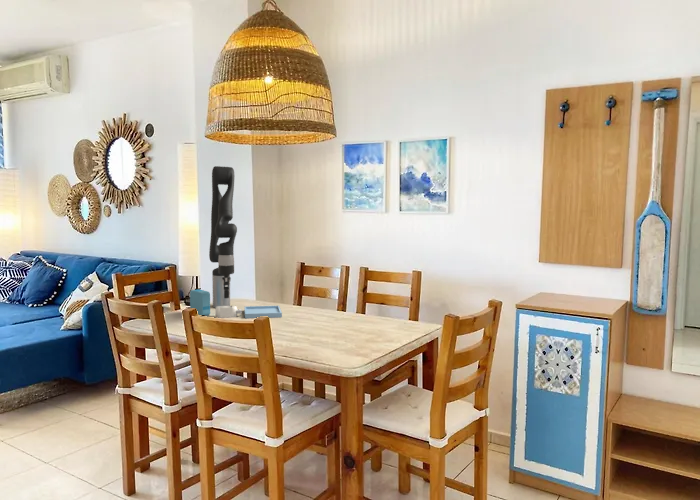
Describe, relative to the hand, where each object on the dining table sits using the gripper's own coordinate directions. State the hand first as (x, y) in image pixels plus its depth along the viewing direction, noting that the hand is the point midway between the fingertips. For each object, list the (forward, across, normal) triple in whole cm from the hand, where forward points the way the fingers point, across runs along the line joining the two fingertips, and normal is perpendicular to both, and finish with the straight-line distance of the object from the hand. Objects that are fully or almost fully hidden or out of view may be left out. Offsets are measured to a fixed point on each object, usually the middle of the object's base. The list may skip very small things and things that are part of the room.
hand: (226, 296), depth 268 cm
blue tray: (+10, -4, +18) cm, 21 cm away
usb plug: (+10, 0, +1) cm, 10 cm away
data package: (+10, -8, -13) cm, 18 cm away
